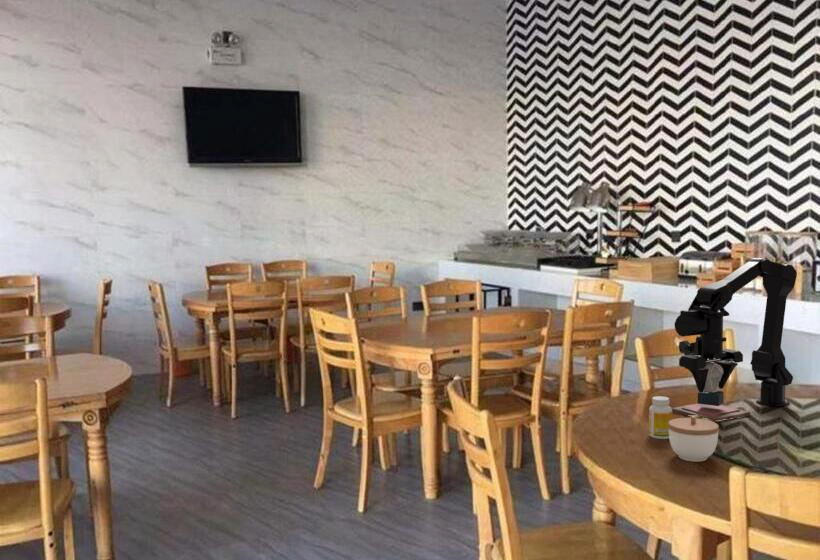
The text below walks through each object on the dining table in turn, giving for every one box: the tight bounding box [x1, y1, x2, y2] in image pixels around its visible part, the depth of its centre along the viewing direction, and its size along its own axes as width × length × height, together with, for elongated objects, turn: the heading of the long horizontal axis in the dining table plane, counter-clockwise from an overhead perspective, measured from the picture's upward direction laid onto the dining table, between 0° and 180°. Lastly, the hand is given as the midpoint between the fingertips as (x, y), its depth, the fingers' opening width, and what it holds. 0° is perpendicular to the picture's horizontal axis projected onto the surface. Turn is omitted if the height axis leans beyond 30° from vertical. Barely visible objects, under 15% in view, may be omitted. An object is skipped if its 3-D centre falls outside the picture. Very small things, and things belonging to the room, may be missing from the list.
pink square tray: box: [671, 402, 751, 421], centre depth 214 cm, size 14×14×1 cm
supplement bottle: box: [648, 395, 673, 440], centre depth 194 cm, size 5×5×10 cm
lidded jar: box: [668, 416, 720, 463], centre depth 177 cm, size 11×11×9 cm
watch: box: [697, 362, 725, 406], centre depth 213 cm, size 6×8×11 cm
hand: (710, 390), depth 214 cm, fingers closed on watch, 7 cm apart
